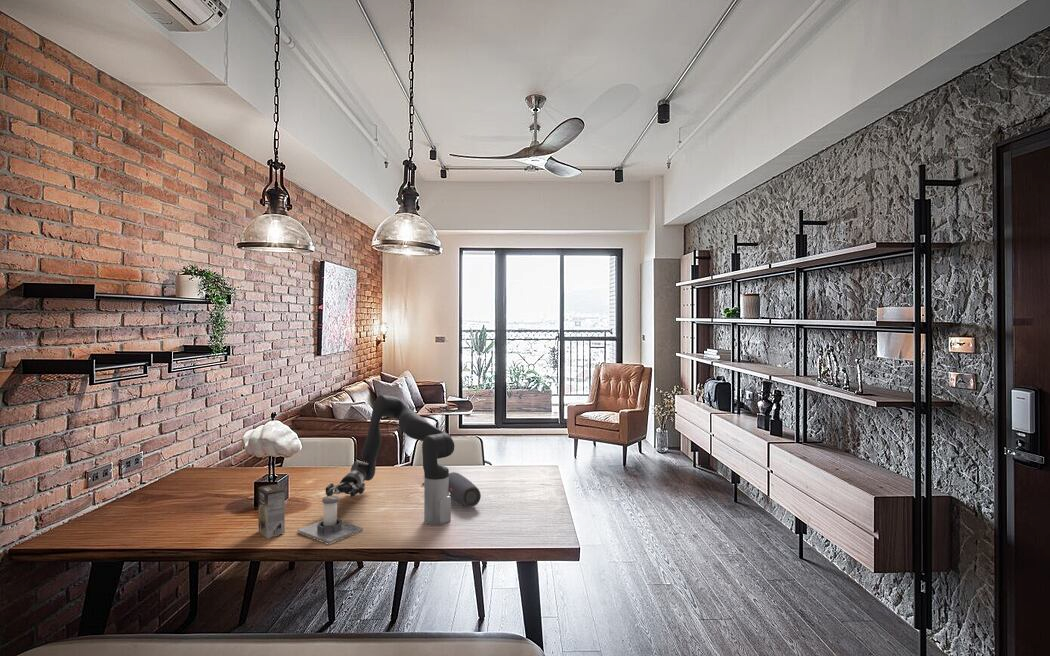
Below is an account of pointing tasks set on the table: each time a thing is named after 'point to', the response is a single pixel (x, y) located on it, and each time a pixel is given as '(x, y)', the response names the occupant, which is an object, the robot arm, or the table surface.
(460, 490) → the bluetooth speaker
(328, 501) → the grey capped jar
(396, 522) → the table surface
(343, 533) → the hub plate
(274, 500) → the coffee box
